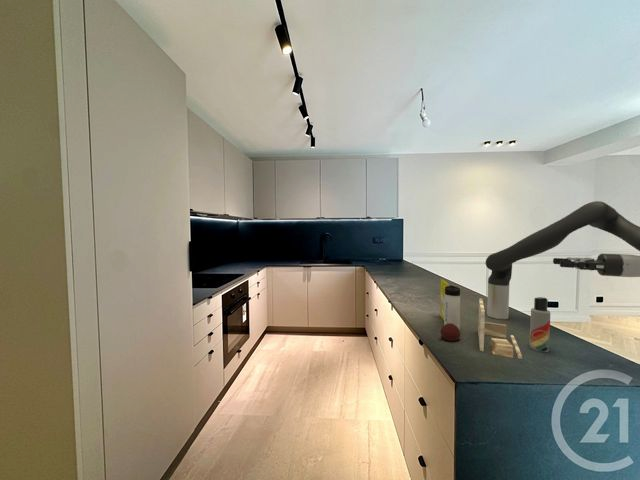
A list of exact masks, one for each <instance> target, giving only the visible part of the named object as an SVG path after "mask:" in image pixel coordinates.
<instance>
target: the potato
mask: <svg viewBox="0 0 640 480" xmlns="http://www.w3.org/2000/svg"><path fill="white" fill-rule="evenodd" d="M440 336H441V337H442V339H444V340H445V341H448V342H457V341H458V340H459V339H460V338H461V331H460V328H459V329H458V327H457V326H456V325H454V324H452V323H448V324H445V325H444V324H443V326H441V328H440Z"/></svg>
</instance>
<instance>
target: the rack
mask: <svg viewBox="0 0 640 480" xmlns="http://www.w3.org/2000/svg"><path fill="white" fill-rule="evenodd" d="M485 315H486V311H485V307H484V299H483V298H482V297H481V298H478V320H477V321H478V325H477V326H478V329H477V334H478V344H479V351H480V352H485V350H484V349H485V348H484V347H485V336H493V337H498V338H502V339H504V338H505V339H506V338H507V329H508V328H507V324H501V323H495V322H489V321H485V320H486V319H485V318H486V317H485ZM510 340H511V342H512V343H511V344H512V346H513V349H514V351H515V353H516V356H517V359H521V360H522V359H523V354H522V352H521V350H520V347H519V345H518V342H517V340H516V338H515V336H514V335H512V334H510Z"/></svg>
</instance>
